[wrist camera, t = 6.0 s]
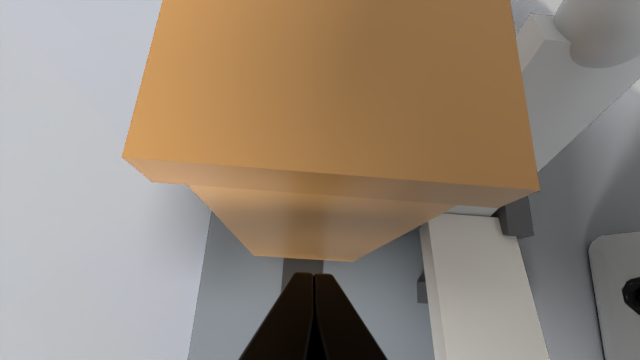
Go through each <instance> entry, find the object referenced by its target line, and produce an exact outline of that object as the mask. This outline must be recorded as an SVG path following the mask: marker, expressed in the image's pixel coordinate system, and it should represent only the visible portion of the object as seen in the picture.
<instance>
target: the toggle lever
mask: <svg viewBox="0 0 640 360" xmlns="http://www.w3.org/2000/svg"><path fill="white" fill-rule="evenodd" d="M516 42H517V48H518V54H519V61H520V67H521V73H522V79H523V86H524V92H525V98H526V104H527V111H528V117H529V123H530V129H531V136H532V142H533V148H534V154H535V161H536V167H537V172H539V171H540V170H541V169H542V168H543V167H544V166H545V165H546V164H547V163H548V162H549V161H550V160H552V159H553V158H554V157H555V156H556V155H557V154H558V153H559V152H560V151H561V150H562V149H563V148H565V147H566V146H567V145H568V144H569V143H570V142H571V141H572V140H573V139H574V138H575V137H576V136H578V135H579V134H580V133H581V132H582V131H583V130H584V129H585V128H586V127H587V126H588V125H589V124H591V123H592V122H593V121H594V120H595V119H596V118H597V117H598V116H599V115H600V114H601V113H602V112H604V111H605V110H606V109H607V108H608V107H609V106H610V105H611V104H612V103H613V102H614V101H615V100H617V99H618V98H619V97H620V96H621V95H622V94H623V93H624V92H625V91H626V90H627V89H628V88H630V87H631V86H632V85H633V84H634V83H635V82H636V81H637V80H638V79H639V78H640V0H563V2H562V3H561V5H560V7H559V8H558V10H557V12H556V15H555V16H551V15H542V14H533V13H531V14H530V15H529V17H528V18H527V20H526V22H525V23H524V25H523V26H522V28H521V30H520V31H519V33H518V34H517V36H516ZM499 208H500V207H499ZM497 209H498V208H490V207H477V206H464V205H457V206H455V207H453V208H452V209H450V210H448V211H446V212H444V213H443V214H456V215H470V216H484V217H490V216H491V215H492V214H493V213H494V212H495V211H496V210H497Z"/></svg>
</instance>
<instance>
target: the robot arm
mask: <svg viewBox="0 0 640 360" xmlns="http://www.w3.org/2000/svg"><path fill="white" fill-rule="evenodd" d="M238 360H388V359H387V357H386V356H385V354H384V353H383V351H382V349H381V348H380V346H379V345H378V343H377V342H376V340H375V339H374V337H373V336H372V334H371V333H370V331H369V330H368V328H367V326H366V325H365V323H364V322H363V320H362V319H361V317H360V316H359V314H358V313H357V311H356V310H355V308H354V307H353V305H352V303H351V302H350V300H349V299H348V297H347V296H346V294H345V293H344V291H343V290H342V288H341V287H340V285H339V284H338V282H337V281H336V279H335V277H334V276H333V275H332V274H327V273H315V274H314V276H313V274H312V273H310V272H295V273H294V274H293V275H292V277H291V278H290V280H289V281H288V283H287V285H286V286H285V288H284V289H283V291H282V292H281V294H280V295H279V297H278V298H277V300H276V302H275V303H274V305H273V306H272V308H271V309H270V311H269V312H268V314H267V315H266V317H265V318H264V320H263V322H262V323H261V325H260V326H259V328H258V329H257V331H256V332H255V334H254V335H253V337H252V338H251V340H250V342H249V343H248V345H247V346H246V348H245V349H244V351H243V352H242V354H241V355H240V357H239V359H238Z"/></svg>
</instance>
